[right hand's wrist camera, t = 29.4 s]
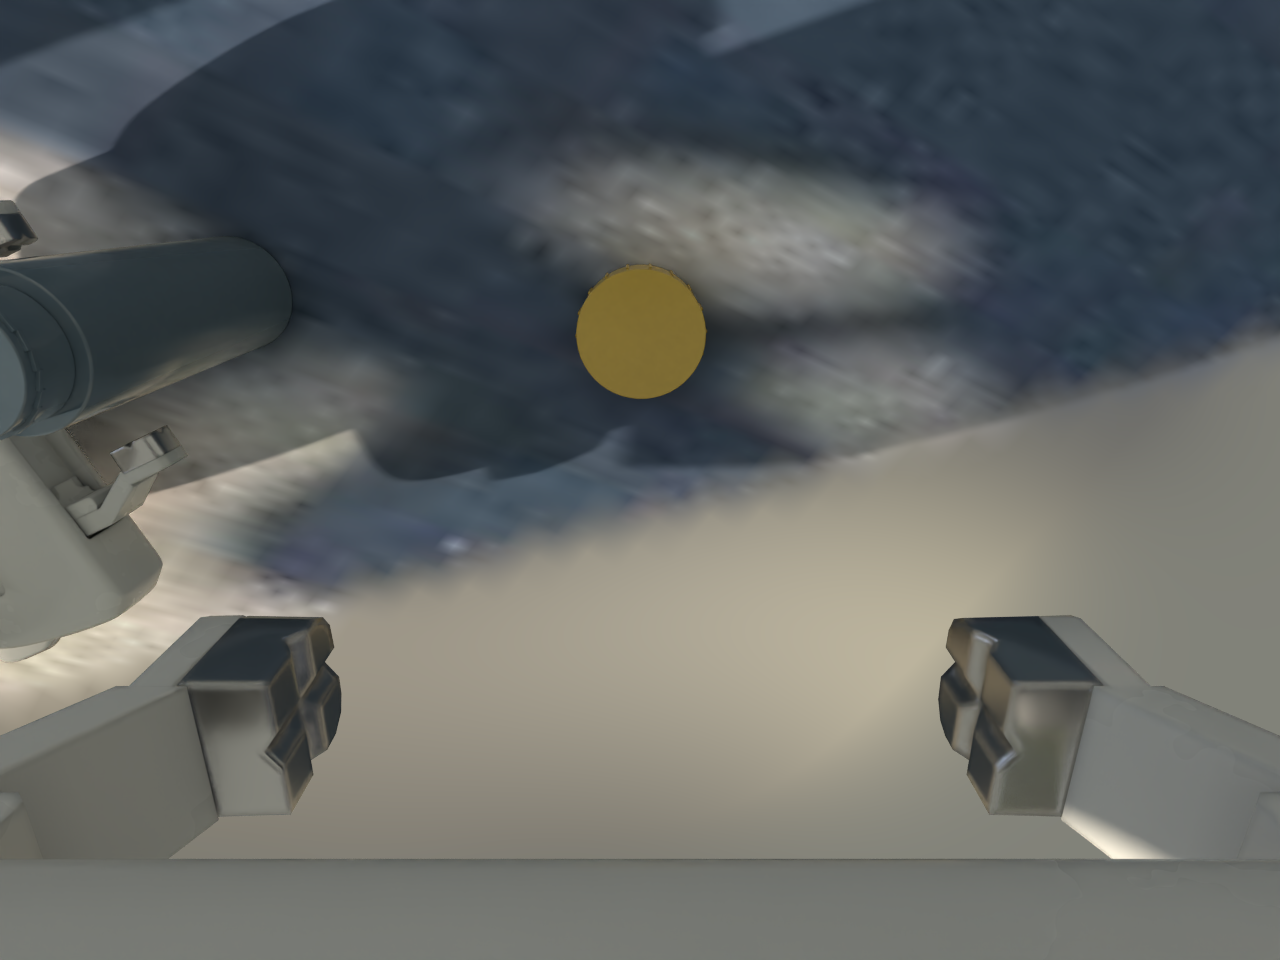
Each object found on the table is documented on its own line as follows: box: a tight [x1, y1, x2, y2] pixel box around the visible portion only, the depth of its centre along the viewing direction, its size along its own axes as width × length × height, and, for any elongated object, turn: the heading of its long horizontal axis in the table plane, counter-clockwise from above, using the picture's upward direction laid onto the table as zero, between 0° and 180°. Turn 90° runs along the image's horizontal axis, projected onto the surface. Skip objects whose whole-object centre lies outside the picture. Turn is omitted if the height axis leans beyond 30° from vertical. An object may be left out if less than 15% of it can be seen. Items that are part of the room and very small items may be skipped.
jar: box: [0, 236, 292, 440], centre depth 27 cm, size 5×5×16 cm
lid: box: [575, 263, 707, 399], centre depth 34 cm, size 6×6×2 cm
